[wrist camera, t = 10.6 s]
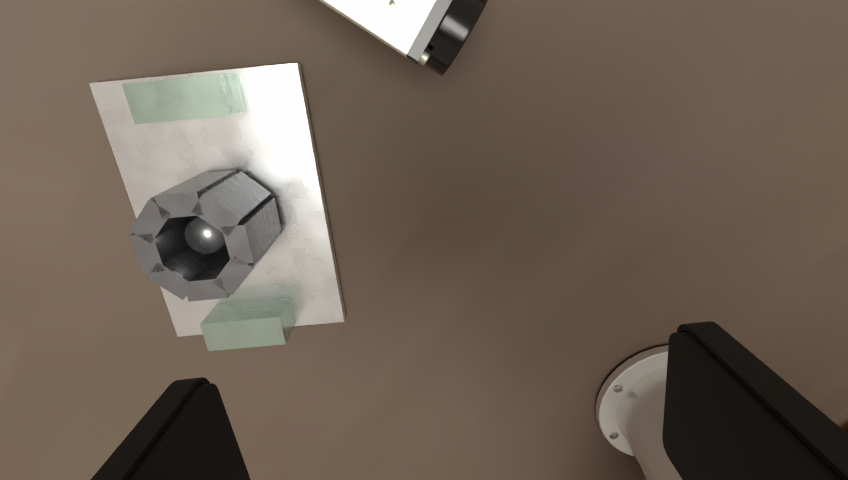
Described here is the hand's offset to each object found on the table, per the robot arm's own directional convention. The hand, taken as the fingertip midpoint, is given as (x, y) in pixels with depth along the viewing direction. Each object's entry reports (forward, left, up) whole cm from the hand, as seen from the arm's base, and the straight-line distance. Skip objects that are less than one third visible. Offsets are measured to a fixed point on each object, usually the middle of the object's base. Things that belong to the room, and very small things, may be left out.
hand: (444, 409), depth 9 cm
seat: (-2, +15, -25) cm, 29 cm away
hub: (-2, +14, -24) cm, 28 cm away
